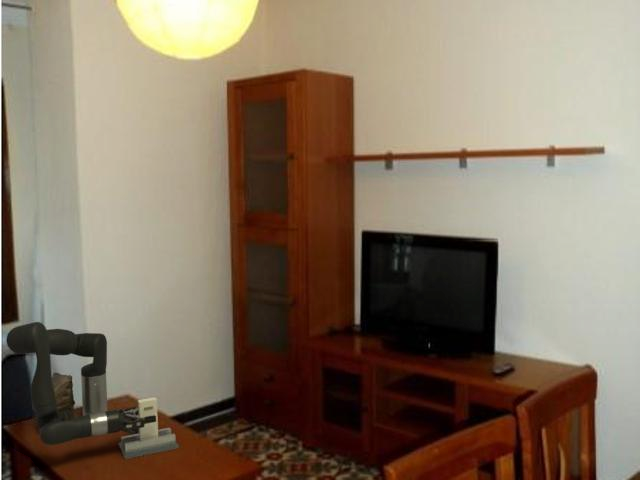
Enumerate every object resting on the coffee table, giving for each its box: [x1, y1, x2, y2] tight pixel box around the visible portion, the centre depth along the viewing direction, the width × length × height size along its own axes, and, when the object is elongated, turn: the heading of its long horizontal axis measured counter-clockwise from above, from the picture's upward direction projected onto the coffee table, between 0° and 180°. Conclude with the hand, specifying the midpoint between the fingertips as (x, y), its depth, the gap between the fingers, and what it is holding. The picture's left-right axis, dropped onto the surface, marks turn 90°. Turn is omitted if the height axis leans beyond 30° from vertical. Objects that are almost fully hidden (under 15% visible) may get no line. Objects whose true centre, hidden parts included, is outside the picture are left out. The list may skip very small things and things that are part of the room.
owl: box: [52, 372, 76, 422], centre depth 234 cm, size 13×13×20 cm
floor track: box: [118, 427, 180, 460], centre depth 217 cm, size 12×18×4 cm, turn 118°
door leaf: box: [137, 397, 159, 440], centre depth 216 cm, size 3×6×16 cm, turn 119°
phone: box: [120, 426, 139, 435], centre depth 232 cm, size 8×1×15 cm
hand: (153, 414), depth 217 cm, fingers open, 8 cm apart
